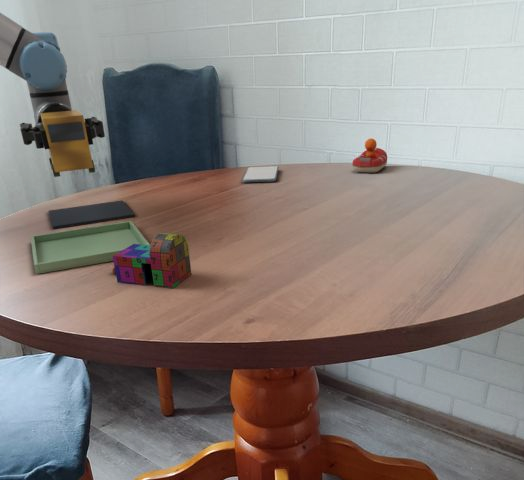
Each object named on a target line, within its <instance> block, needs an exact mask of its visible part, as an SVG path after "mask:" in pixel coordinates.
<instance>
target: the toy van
mask: <svg viewBox="0 0 524 480" xmlns="http://www.w3.org/2000/svg"><path fill="white" fill-rule="evenodd" d="M40 115H41V119H42V123H43V127H44V128H45V130H46V135H47V139H48V143H49V148H50V149H48V153H49V158H48V160H49V166H50V169H51V171H52V174H53V177H54V178H59V177H61V173H62V172H63V173H64V172H72V171H77V170H78V171H80V170H87V172H88V173H89V174H91V173H92V174H93V173H95V172H96V168H95V163H94V160H93V159H92V154H91V149H90V145H89V143H88V138H87V133H86V128H85V123H84V122H85V118H84V115H83V113H82V112H80V111H78V110H77V109H75V110H73V109H72V111H61V112H49V113H40Z"/></svg>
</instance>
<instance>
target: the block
mask: <svg viewBox="0 0 524 480" xmlns="http://www.w3.org/2000/svg"><path fill="white" fill-rule="evenodd" d="M190 258H191V257H190V251H189V244H188V241H187V240H186V238H185V237H184V235H182V234H179V233H178V234H177V233H163V232H159V233H157V234H156V235H154V237H153V239H152V241H151V242H150V245H142V244H133V245H131V246H129V247H127V248H126V249H124V250H122V251H120V252H118V253H117V254H115V255H113V261H112V262H113V266H114V267H113V268H112V275H115V276H116V282H117V283H120V284H129V285H138V286H146V285H147V276H146V271H151V274H152V282H153V286H154V287H156V288H166V289H174V288H176V287H178V286H179V285H180V284H181V283H182V282H183V281H185V280H187V279H188V278H189V277H190V276H191V275H192V267H191V259H190Z"/></svg>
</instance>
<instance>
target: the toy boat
mask: <svg viewBox="0 0 524 480" xmlns="http://www.w3.org/2000/svg"><path fill="white" fill-rule="evenodd" d="M377 146H378V145H377V141H376V139H374V138H368V139H366V140H365V143H364V148H365V150H364V151H363V152H361V154H360V155H359V156H357V157H355V158H354V159H353V160H352V164H351V165H352V169H353V170H354V172H356V173H368V174H370V173H371V174H373V173H378V172H380V171H381V170H382V169H383V168H385V167H386V166H387V163H388V154H387V152H386V151H385V150H384V149H382V148H380V147H377Z"/></svg>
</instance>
